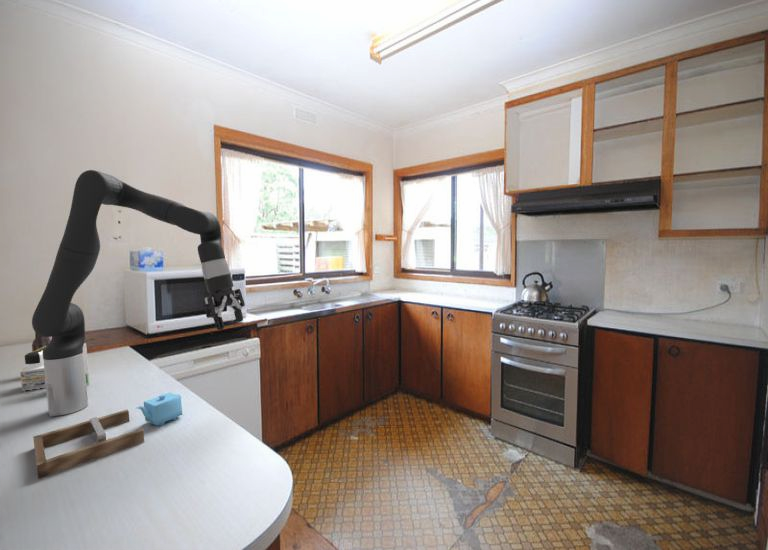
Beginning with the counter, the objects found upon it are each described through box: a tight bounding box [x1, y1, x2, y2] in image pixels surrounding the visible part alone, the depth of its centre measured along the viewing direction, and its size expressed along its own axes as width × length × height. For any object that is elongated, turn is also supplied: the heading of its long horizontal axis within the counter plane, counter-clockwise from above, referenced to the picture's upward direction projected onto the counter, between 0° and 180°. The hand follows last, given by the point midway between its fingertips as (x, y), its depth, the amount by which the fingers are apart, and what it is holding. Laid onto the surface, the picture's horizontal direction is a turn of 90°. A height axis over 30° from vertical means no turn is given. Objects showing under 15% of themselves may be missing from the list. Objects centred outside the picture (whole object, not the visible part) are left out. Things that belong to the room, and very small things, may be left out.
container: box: [19, 350, 46, 392], centre depth 132 cm, size 8×8×13 cm
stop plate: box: [89, 416, 107, 444], centre depth 92 cm, size 2×13×4 cm, turn 46°
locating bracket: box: [32, 409, 145, 480], centre depth 90 cm, size 20×18×3 cm
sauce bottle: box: [31, 331, 51, 352], centre depth 145 cm, size 7×6×20 cm
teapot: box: [135, 392, 183, 427], centre depth 102 cm, size 12×6×8 cm, turn 149°
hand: (230, 325), depth 112 cm, fingers open, 8 cm apart
